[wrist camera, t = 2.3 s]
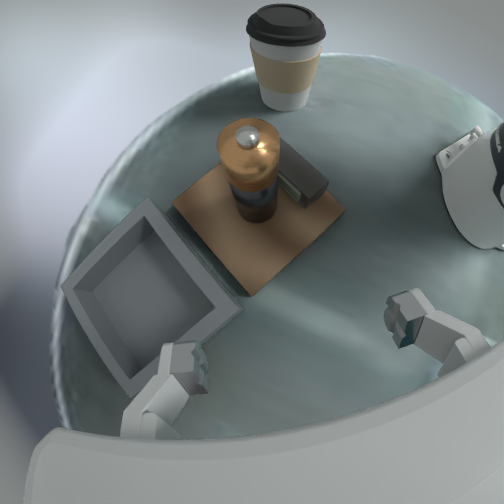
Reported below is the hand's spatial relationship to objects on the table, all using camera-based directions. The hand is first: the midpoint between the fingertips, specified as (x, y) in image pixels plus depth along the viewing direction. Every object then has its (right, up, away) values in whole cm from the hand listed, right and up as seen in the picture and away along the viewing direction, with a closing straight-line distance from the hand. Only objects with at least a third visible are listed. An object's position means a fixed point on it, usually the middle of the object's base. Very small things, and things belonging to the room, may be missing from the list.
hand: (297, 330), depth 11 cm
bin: (-13, -2, +19) cm, 23 cm away
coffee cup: (+3, +26, +24) cm, 36 cm away
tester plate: (-1, +8, +20) cm, 22 cm away
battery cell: (-1, +8, +19) cm, 21 cm away
